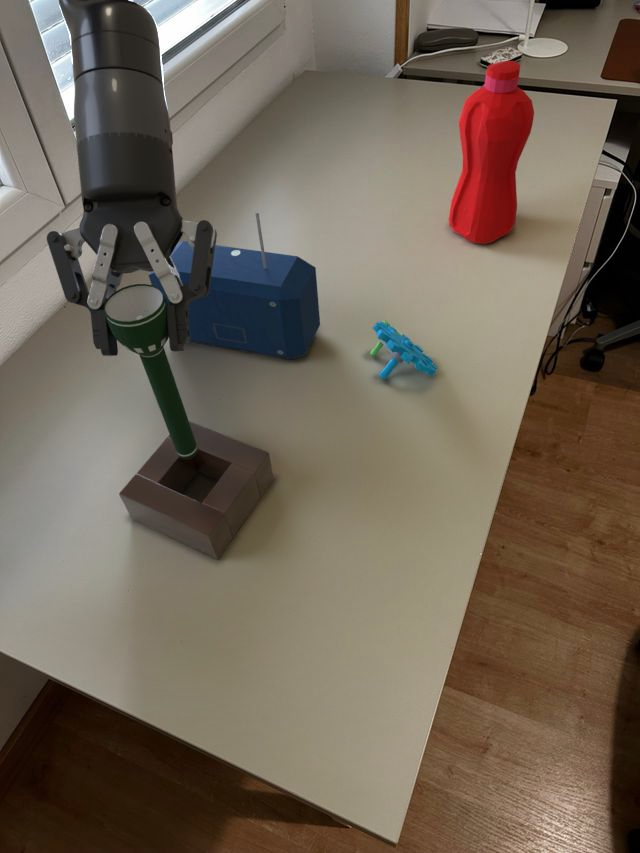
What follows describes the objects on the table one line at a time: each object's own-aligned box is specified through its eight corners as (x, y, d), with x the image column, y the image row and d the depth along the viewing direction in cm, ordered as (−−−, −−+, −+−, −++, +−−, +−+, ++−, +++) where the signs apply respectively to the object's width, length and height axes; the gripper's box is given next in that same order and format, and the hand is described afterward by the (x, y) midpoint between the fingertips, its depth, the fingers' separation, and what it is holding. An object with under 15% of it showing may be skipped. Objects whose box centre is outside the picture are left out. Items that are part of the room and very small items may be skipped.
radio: (323, 325, 92) (313, 196, 77) (304, 367, 87) (289, 238, 72) (191, 303, 97) (158, 179, 82) (165, 342, 92) (124, 216, 77)
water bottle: (474, 202, 110) (495, 41, 91) (521, 230, 104) (554, 64, 85) (432, 222, 107) (445, 60, 88) (479, 252, 101) (503, 84, 82)
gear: (453, 377, 81) (400, 347, 76) (423, 412, 84) (369, 385, 78) (415, 333, 89) (365, 303, 84) (389, 366, 92) (337, 338, 86)
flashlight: (206, 428, 70) (159, 276, 55) (217, 463, 67) (170, 313, 51) (160, 442, 69) (99, 292, 54) (168, 478, 66) (106, 329, 51)
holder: (217, 560, 69) (208, 536, 65) (131, 519, 73) (118, 493, 69) (274, 478, 75) (269, 452, 71) (192, 445, 79) (183, 418, 76)
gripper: (16, 135, 49) (39, 358, 51) (202, 121, 49) (220, 345, 50) (58, 166, 57) (77, 360, 58) (220, 154, 56) (235, 349, 58)
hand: (143, 352), depth 54 cm, fingers closed on flashlight, 5 cm apart
